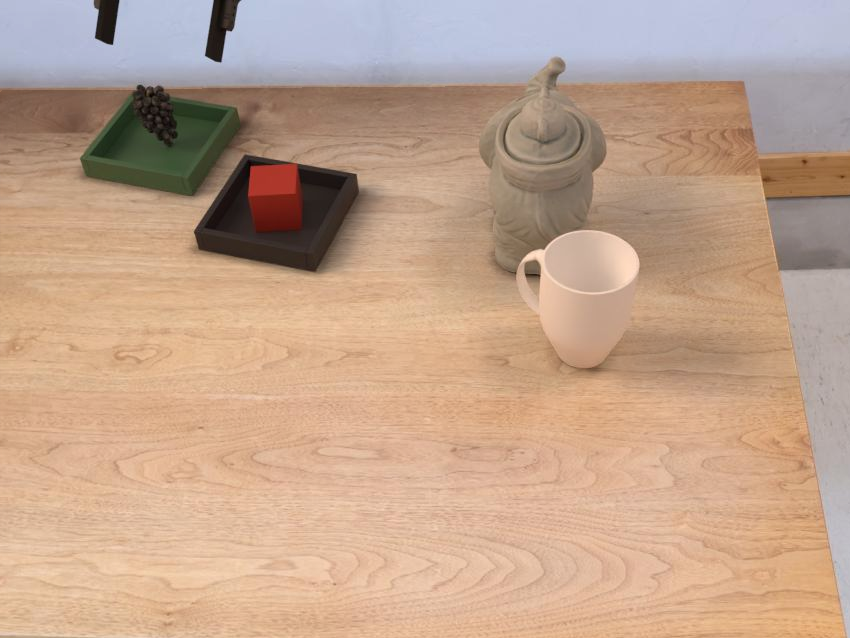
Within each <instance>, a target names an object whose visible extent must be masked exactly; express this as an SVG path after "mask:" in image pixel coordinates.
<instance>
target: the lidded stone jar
mask: <svg viewBox="0 0 850 638" xmlns="http://www.w3.org/2000/svg"><path fill="white" fill-rule="evenodd" d="M565 71H566V62H565V60H564V59H562V58H561V57H559V56H553V57H550V59H549V60H548V63H547V64H546V65H545V66H544V67H543V68H541V69H540V70H538V71H537V72H536V73H535V74H534V75H533V76H531V78H530V79H529V80H528V82H527V84H526V87H525V90H524V94H523V96H520V97H518V98H516V99H514V100H512V101H510V102H509V103H508V104H507V105H505V106H504V107H502V108H500V109H499V110H498V111H496V112H495V113H494V114H493V115H492V116H491V117H490V118H489V120H488V121H487V122H486V123H485V125H484V127H483V128H482V130H481V133H480V136H479V139H478V150H479V151H478V152H479V155H480V158H481V160H482V162H483V164H485V165H486V166H487V167H488V168H489V170H490V174H489V183H488V195H489V202H490V204H491V209H492V211H493V212H492V213H493V215H494V219H493V222H492V235H493V238H494V241H495V246H494V247H495V248H494V257H495V261H496V263H497V265H498V266H499V267H501V268H502V269H504V270H505V271H509V272H511V273H516V274H517V270H518V267H519V265H520V263H521V261H522V260H523V259H524V257H525V256H526V255H527V254H529V253H530V252H532V251H535V250H539V249H542V250H545V248H546V247H547V246H548V244H549V243H550V242H552V241H553V240H554V239H556V238H557V237H559V236H561V235H564V234H566V233H570V232H574V231H581V230H589V220H588V214H589V210H590V208H591V204H592V202H593V195H594V175H593V173H594V172H595V171H597V169H599V168H600V167H601V166H602V165H603V163H604V161H605V159H606V157H607V141H606V138H605V134H604V131H603V130H602V127H601V125H600V124H599V122H598V121H597V120H595V119H594V118H593V117H592V116H590V115H589V114H587V113H586V112H584V111H582V110H581V109H580V108H579V107H578V106H577V105H576V104H575V102H574V101H573V99H571V98H570V97H569V96H568V95H566V94H565V93H563V92H560V91H558V87H557V80H558V77H559V76H560V75H561V74H562V73H564V72H565ZM524 272H525V275H526V274H527V275H528V274H529V275H539V276H541V266H540V263H539V262H538V261H537V260H532V261H529V262H526V263H525V266H524Z"/></svg>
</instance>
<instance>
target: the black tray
mask: <svg viewBox="0 0 850 638" xmlns="http://www.w3.org/2000/svg"><path fill="white" fill-rule="evenodd" d="M284 164H297V167H298V173H299V179H300V185H301V191H302V198H303V210H302V229H301V230H286V231H268V232H256V231H255V226H254V221H253V216H252V212H251V207H250V202H249V197H248V193H249V181H250V170H251V166H265V165H284ZM359 193H360V191H359V182H358V174H357V173H355V172H349V171H343V170H337V169H331V168H325V167H319V166H315V165H309V164H302V163H297V162H292V161H285V160H280V159H274V158H268V157H262V156H257V155H250V154H243V156H242V157H241V159H240V160H239V162H238V164H236V166H235V167H234V170H233V171H232V172H231V174H230V176H228V179H227V180H226V182H225V183H224V185H223V186H222V187H221V189H220V191H219V192H218V194H217V195H216V197H215V198H214V200H213V201H212V202H211V204H210V206H209V208H208V209H207V210H206V212H205V213H204V215H203V216H202V218H201V220H200V221H199V222H198V223H197V226H196V227H195V229H194V230H193V233H194V237H195V241H196V244H197V248H198V250H201V251H206V252H211V253H216V254H221V255H226V256H231V257H236V258H241V259H245V260H246V259H247V260H251V261H257V262H262V263H267V264H273V265H276V266H282V267H287V268H293V269H298V270H304V271H308V272H313V273H316V272H317V271H318V268H319V266H320V264H321V263H322V261H323V259H324V257H325V255H326V254H327V252H328V250H329V248H330V246H331V244H332V242H333V241H334V239H335V237H336V235H337V234H338V231H339V230H340V228H341V226H342V224H343V223H344V220H345V219H346V217H347V215H348V213H349V211H350V209H351V208H352V206H353V204H354V202H355V200H356V199H357V197H358V195H359Z"/></svg>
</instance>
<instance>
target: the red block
mask: <svg viewBox="0 0 850 638" xmlns="http://www.w3.org/2000/svg"><path fill="white" fill-rule="evenodd" d="M248 197H249V202H250V207H251V212H252V216H253V221H254V226H255V231H256V232H268V231H286V230H301V229H302V210H303V198H302V191H301V185H300V179H299V173H298V167H297V164H284V165H265V166H251V170H250V181H249V193H248Z"/></svg>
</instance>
